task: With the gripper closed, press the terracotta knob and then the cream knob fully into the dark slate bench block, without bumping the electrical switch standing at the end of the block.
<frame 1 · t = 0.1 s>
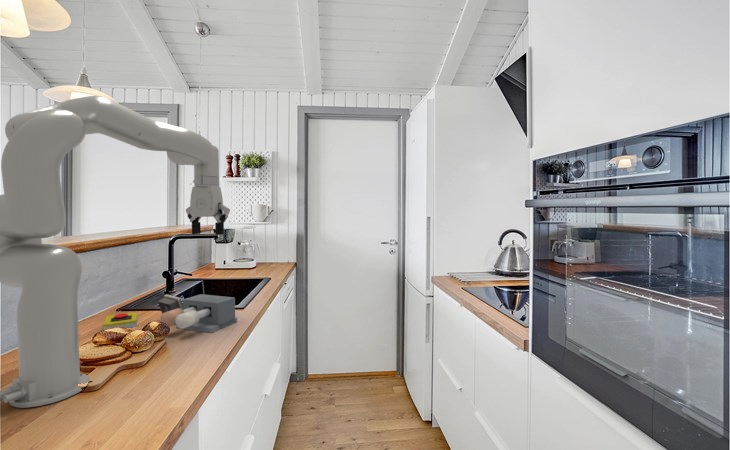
hand: (207, 234, 115), 31 cm above the countertop, tool pointing down, fingers open, 9 cm apart
knob terracotta: (181, 314, 111), point 6 cm above the countertop, slide at 0.0 cm
knob cream: (195, 316, 109), point 6 cm above the countertop, slide at 0.0 cm
electrical switch: (173, 322, 121), on the countertop
bench block: (207, 324, 118), on the countertop
emergency button: (121, 327, 117), on the countertop
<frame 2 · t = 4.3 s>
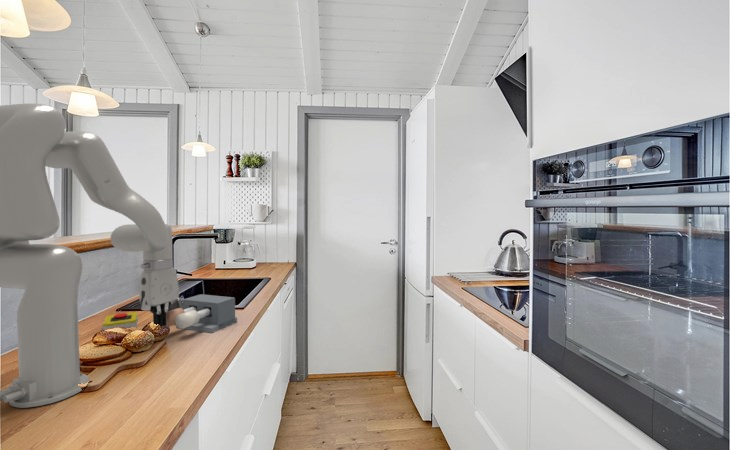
hand: (159, 325, 104), 4 cm above the countertop, tool pointing down, fingers closed
knob terracotta: (182, 314, 111), point 6 cm above the countertop, slide at 0.3 cm, touching gripper
everything else where it was.
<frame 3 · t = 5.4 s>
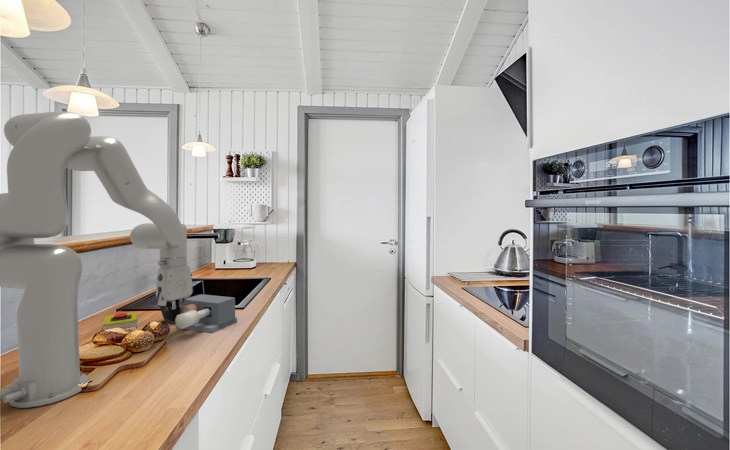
hand: (174, 320, 109), 4 cm above the countertop, tool pointing down, fingers closed
knob terracotta: (194, 309, 116), point 6 cm above the countertop, slide at 5.5 cm, touching gripper
everything else where it was.
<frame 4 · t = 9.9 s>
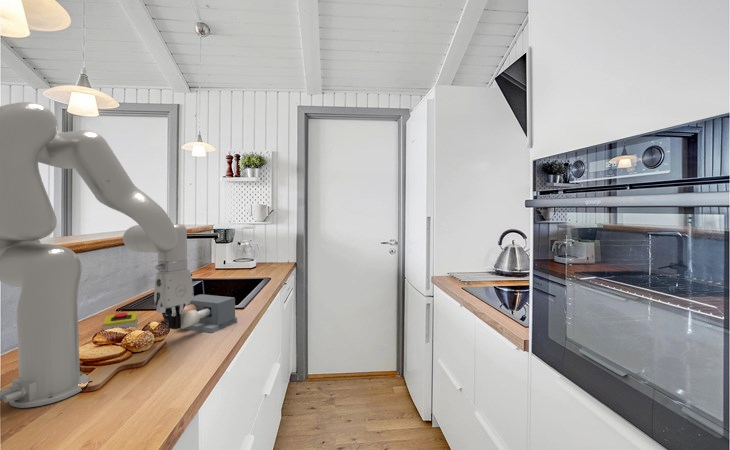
hand: (174, 327, 102), 4 cm above the countertop, tool pointing down, fingers closed
knob terracotta: (193, 310, 116), point 6 cm above the countertop, slide at 5.0 cm
knob cream: (196, 316, 109), point 6 cm above the countertop, slide at 0.1 cm, touching gripper
everything else where it was.
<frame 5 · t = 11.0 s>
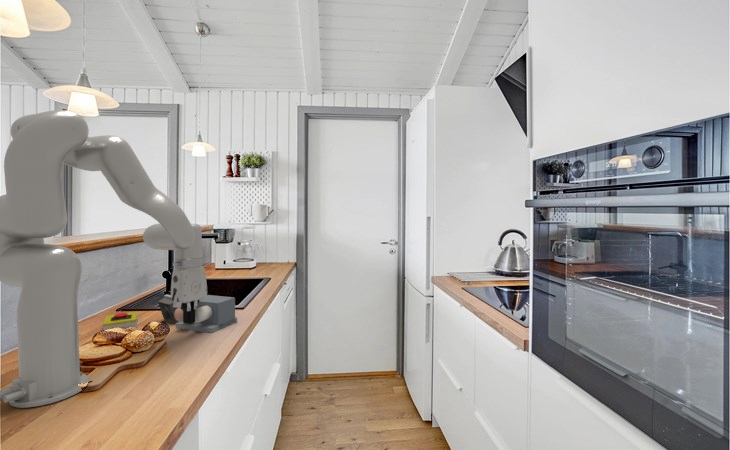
hand: (189, 322, 107), 4 cm above the countertop, tool pointing down, fingers closed
knob cream: (208, 311, 114), point 6 cm above the countertop, slide at 5.4 cm, touching gripper
everything else where it was.
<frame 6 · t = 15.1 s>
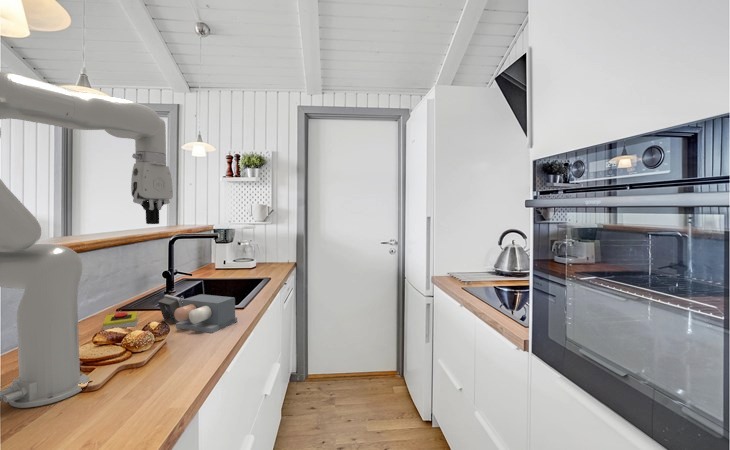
hand: (152, 223, 100), 35 cm above the countertop, tool pointing down, fingers closed
knob cream: (208, 311, 114), point 6 cm above the countertop, slide at 5.0 cm
at the end: knob terracotta slide at 5.0 cm; knob cream slide at 5.0 cm; electrical switch moved 0.3 cm from its start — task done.
